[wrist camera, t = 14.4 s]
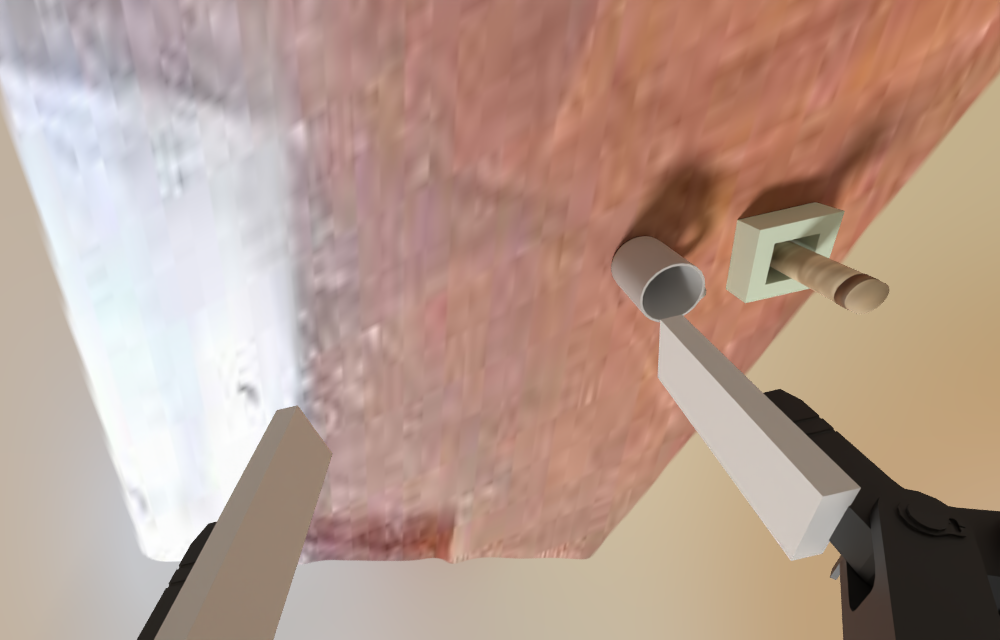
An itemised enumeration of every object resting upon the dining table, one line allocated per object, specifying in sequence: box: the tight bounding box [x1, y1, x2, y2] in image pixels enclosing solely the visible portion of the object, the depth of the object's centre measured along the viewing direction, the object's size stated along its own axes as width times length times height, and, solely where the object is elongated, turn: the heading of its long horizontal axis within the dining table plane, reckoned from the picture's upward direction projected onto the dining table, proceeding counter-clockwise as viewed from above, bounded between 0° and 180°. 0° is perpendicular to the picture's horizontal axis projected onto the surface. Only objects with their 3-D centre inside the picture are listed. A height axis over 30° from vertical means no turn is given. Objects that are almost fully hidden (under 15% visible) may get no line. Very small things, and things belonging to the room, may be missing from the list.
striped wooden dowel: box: [770, 241, 889, 314], centre depth 43 cm, size 4×4×14 cm
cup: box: [611, 236, 706, 322], centre depth 44 cm, size 7×10×9 cm
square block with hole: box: [726, 202, 845, 303], centre depth 47 cm, size 10×10×4 cm
